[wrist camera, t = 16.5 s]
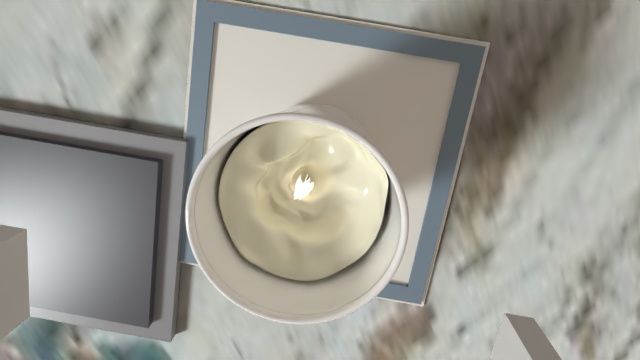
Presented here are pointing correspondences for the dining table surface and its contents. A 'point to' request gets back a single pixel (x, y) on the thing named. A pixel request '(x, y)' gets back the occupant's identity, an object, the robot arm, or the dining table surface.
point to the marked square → (341, 101)
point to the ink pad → (96, 220)
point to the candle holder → (298, 215)
